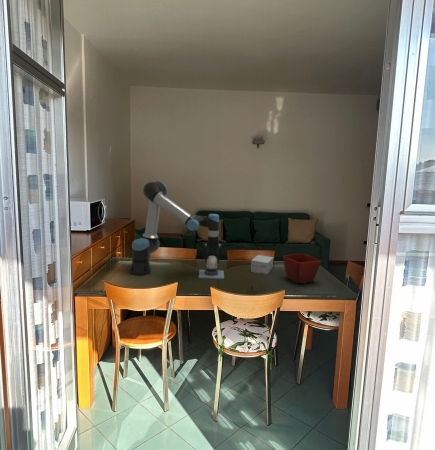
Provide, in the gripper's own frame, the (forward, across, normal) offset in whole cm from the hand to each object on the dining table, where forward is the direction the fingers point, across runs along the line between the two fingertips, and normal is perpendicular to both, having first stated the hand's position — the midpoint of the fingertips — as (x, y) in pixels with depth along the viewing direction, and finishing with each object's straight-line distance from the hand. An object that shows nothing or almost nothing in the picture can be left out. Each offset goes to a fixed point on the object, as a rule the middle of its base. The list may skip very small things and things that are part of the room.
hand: (211, 267), depth 242 cm
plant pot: (+6, +63, -4) cm, 63 cm away
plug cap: (0, 0, 0) cm, 0 cm away
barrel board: (+6, 0, 0) cm, 6 cm away
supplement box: (+6, +39, +17) cm, 43 cm away
